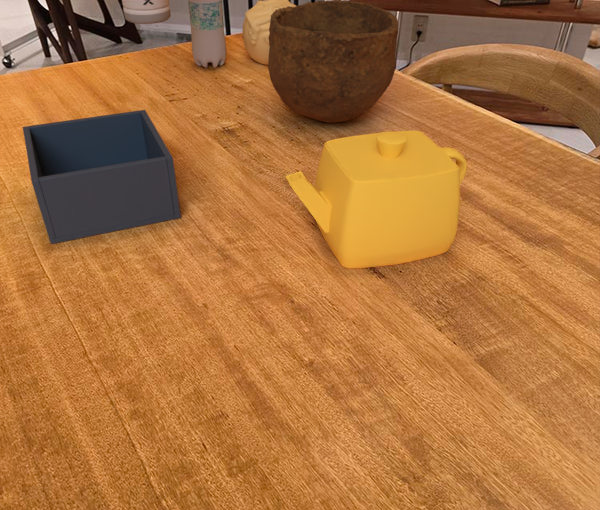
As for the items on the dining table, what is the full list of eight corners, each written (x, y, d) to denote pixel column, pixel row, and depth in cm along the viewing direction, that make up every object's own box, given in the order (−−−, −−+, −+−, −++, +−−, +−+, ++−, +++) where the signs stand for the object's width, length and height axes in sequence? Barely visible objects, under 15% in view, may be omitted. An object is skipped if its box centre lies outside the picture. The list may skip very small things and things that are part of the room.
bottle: (233, 60, 112) (226, -62, 100) (220, 71, 107) (211, -56, 95) (200, 57, 114) (189, -64, 101) (186, 68, 109) (172, -58, 96)
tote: (50, 244, 64) (31, 181, 59) (39, 184, 74) (22, 126, 69) (181, 218, 68) (173, 157, 64) (153, 165, 79) (144, 109, 74)
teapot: (302, 283, 59) (304, 177, 52) (272, 220, 68) (270, 122, 61) (479, 253, 64) (505, 152, 56) (429, 198, 73) (445, 104, 65)
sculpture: (250, 72, 107) (248, 8, 100) (238, 52, 116) (235, -8, 109) (311, 68, 110) (312, 4, 103) (294, 48, 118) (295, -11, 112)
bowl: (346, 155, 82) (354, 42, 72) (244, 121, 90) (239, 16, 81) (412, 114, 93) (426, 12, 84) (316, 87, 102) (319, -8, 92)
